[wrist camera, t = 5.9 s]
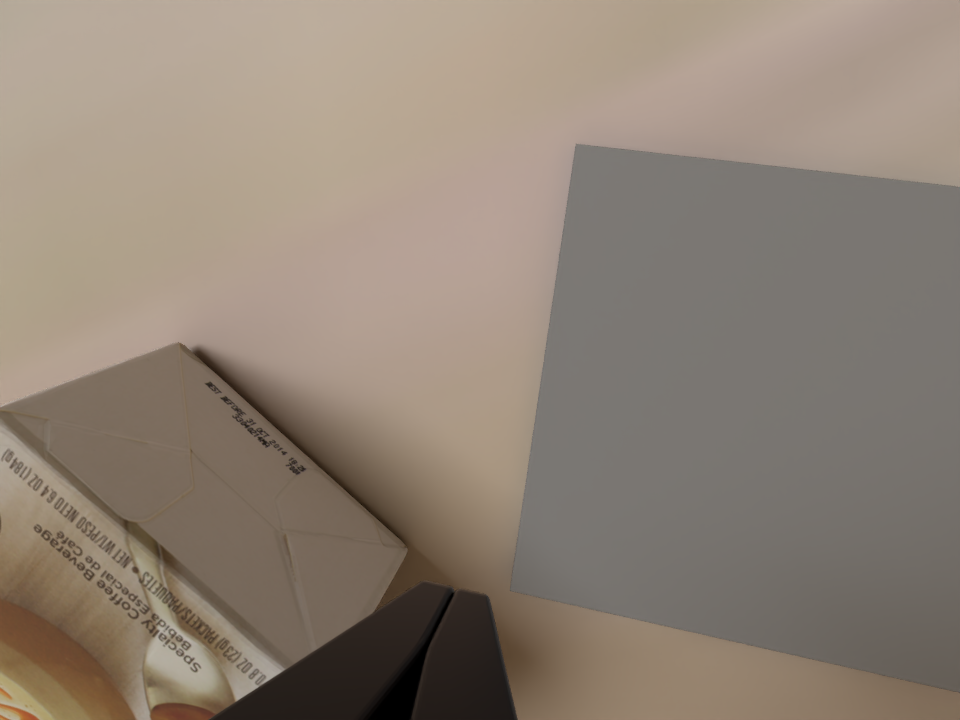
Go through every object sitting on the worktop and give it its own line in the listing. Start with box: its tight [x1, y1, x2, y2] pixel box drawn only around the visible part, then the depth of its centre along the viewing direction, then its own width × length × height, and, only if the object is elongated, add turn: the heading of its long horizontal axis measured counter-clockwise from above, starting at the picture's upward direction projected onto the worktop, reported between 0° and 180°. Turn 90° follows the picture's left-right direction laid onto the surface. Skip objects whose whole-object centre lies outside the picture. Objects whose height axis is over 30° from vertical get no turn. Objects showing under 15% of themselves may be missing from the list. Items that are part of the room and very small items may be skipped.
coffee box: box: [0, 342, 408, 720], centre depth 19 cm, size 9×6×16 cm
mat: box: [510, 144, 960, 693], centre depth 16 cm, size 12×12×1 cm
